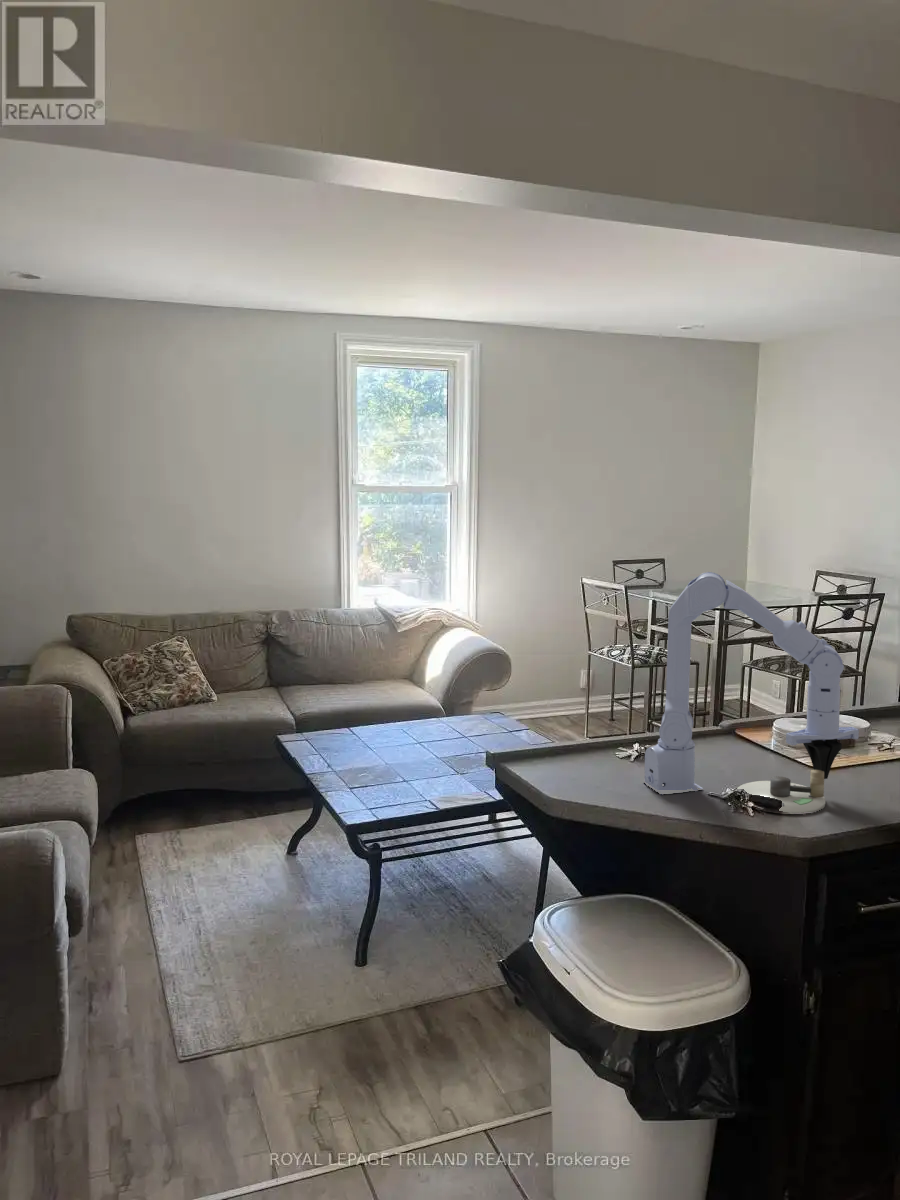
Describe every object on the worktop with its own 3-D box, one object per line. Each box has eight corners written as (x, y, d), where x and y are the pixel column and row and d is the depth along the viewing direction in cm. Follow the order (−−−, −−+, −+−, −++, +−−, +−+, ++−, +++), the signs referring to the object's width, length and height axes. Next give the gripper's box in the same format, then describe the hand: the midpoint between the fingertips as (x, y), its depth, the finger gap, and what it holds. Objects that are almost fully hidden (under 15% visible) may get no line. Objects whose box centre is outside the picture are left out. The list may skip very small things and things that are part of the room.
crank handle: (770, 795, 164) (770, 771, 164) (769, 789, 168) (770, 765, 167) (824, 800, 161) (825, 775, 161) (822, 793, 165) (823, 769, 164)
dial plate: (768, 819, 156) (768, 812, 156) (720, 790, 172) (720, 784, 171) (844, 809, 160) (844, 803, 160) (790, 782, 175) (790, 776, 175)
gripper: (842, 701, 170) (840, 767, 172) (777, 706, 167) (775, 774, 168) (867, 709, 163) (864, 778, 165) (799, 715, 160) (797, 786, 162)
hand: (821, 777), depth 166 cm, fingers closed
